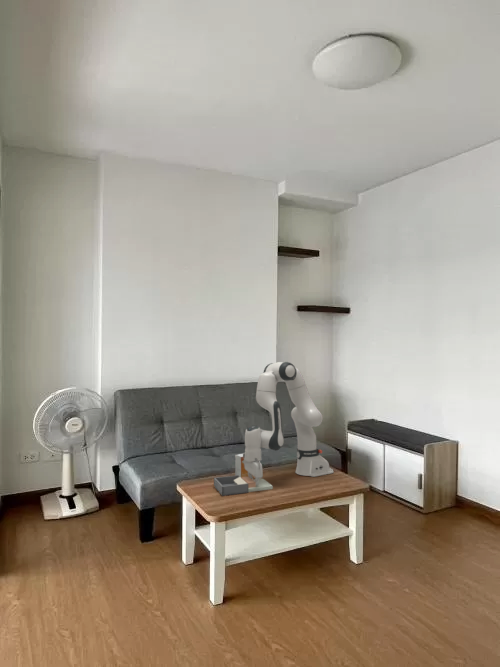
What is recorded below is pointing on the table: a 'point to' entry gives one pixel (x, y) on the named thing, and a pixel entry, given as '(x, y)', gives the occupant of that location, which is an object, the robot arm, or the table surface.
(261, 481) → the sage board
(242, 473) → the small box
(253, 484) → the terracotta tile
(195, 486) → the table surface
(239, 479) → the cream tile
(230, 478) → the tray
